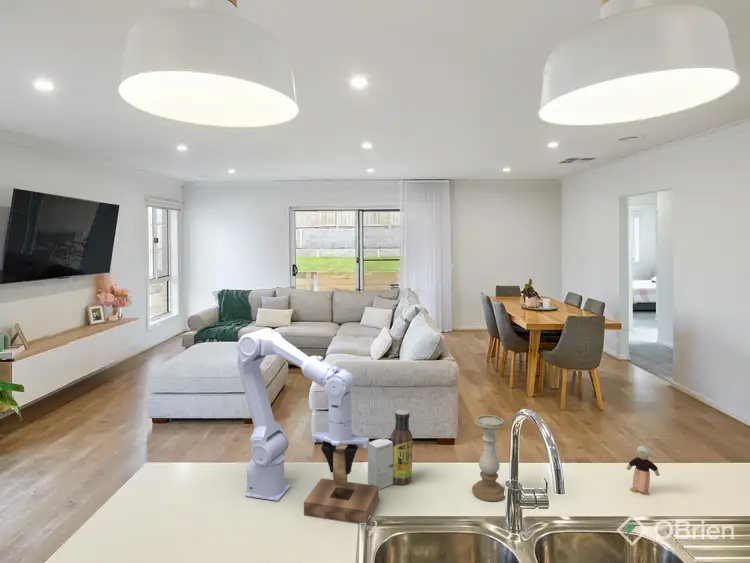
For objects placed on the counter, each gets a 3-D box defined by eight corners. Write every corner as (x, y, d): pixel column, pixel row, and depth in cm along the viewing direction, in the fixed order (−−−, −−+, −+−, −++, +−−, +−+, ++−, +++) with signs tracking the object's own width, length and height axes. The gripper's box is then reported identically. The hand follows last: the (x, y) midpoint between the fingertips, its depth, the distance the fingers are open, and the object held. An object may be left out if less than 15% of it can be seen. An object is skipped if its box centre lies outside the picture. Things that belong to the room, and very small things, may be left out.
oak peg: (330, 484, 120) (330, 453, 119) (337, 477, 123) (336, 447, 122) (343, 487, 118) (343, 455, 118) (349, 480, 122) (349, 449, 121)
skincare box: (376, 491, 129) (376, 448, 128) (367, 484, 133) (366, 442, 132) (394, 484, 133) (394, 442, 132) (384, 477, 137) (384, 436, 136)
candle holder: (512, 498, 126) (514, 423, 124) (483, 504, 123) (485, 428, 121) (493, 482, 134) (494, 412, 132) (465, 488, 131) (466, 416, 129)
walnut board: (303, 515, 118) (303, 501, 118) (321, 490, 130) (321, 478, 129) (366, 524, 114) (366, 510, 114) (378, 498, 126) (378, 485, 125)
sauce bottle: (398, 488, 131) (399, 417, 129) (385, 479, 136) (385, 411, 134) (416, 481, 134) (417, 412, 133) (403, 472, 140) (403, 406, 138)
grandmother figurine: (626, 492, 128) (628, 446, 127) (625, 485, 132) (627, 441, 131) (659, 498, 125) (662, 451, 124) (657, 491, 129) (659, 445, 128)
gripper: (306, 422, 118) (307, 475, 119) (363, 428, 114) (363, 482, 115) (317, 412, 124) (318, 462, 126) (371, 417, 121) (371, 469, 122)
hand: (340, 471), depth 121 cm, fingers closed on oak peg, 4 cm apart
